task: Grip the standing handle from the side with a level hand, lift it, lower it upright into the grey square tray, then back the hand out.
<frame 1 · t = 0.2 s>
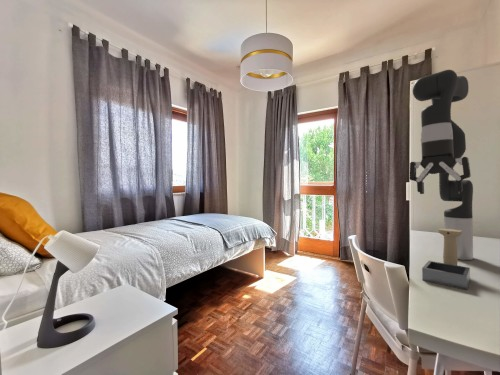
hand: (438, 193, 71), 29 cm above the table, tool pointing down, fingers open, 8 cm apart
grey square tray: (446, 279, 77), on the table
handle: (450, 272, 84), on the table
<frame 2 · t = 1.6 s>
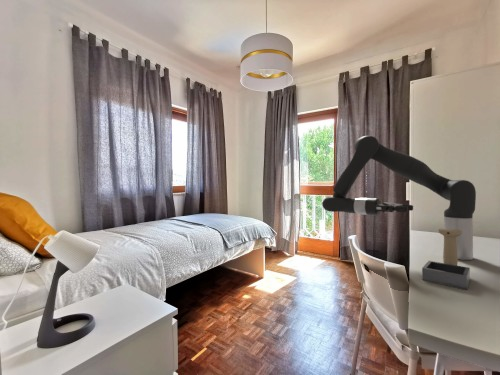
hand: (410, 208, 93), 22 cm above the table, tool horizontal, fingers open, 8 cm apart
nothing on the table moved.
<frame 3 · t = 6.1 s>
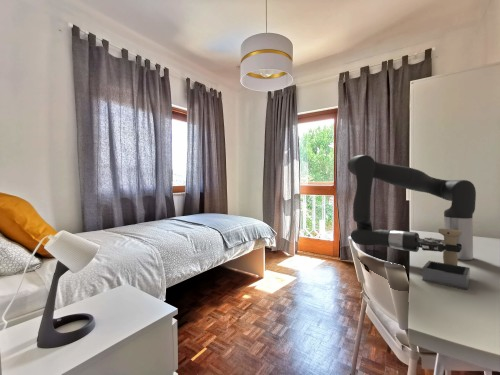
hand: (460, 248, 82), 9 cm above the table, tool horizontal, fingers closed on handle, 3 cm apart
handle: (450, 272, 84), on the table, touching gripper
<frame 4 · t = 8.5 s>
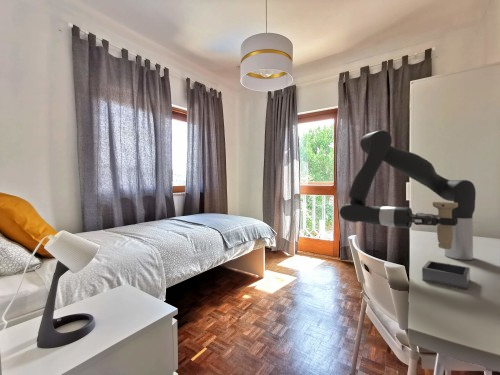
hand: (456, 221, 75), 19 cm above the table, tool horizontal, fingers closed on handle, 3 cm apart
handle: (444, 248, 77), point 10 cm above the table, touching gripper
when the fingers open (11 cm above the table, at t = 10.7 s): handle drops 1 cm, resting on grey square tray.
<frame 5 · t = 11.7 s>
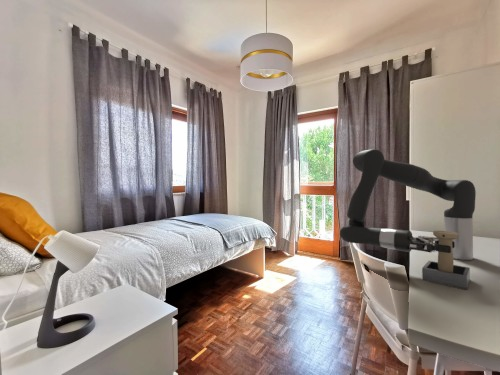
hand: (452, 247, 76), 11 cm above the table, tool horizontal, fingers open, 8 cm apart
handle: (445, 278, 77), resting on grey square tray
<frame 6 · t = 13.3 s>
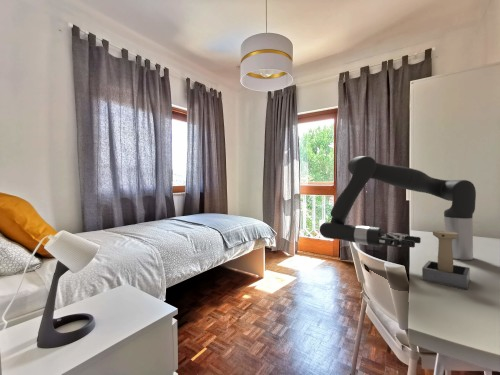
hand: (417, 242, 83), 11 cm above the table, tool horizontal, fingers open, 8 cm apart
nothing on the table moved.
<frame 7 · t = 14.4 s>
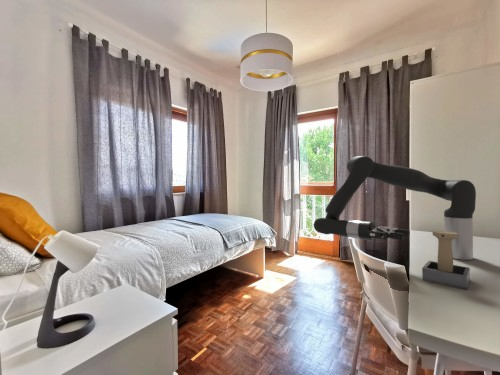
hand: (406, 234, 86), 13 cm above the table, tool horizontal, fingers open, 8 cm apart
nothing on the table moved.
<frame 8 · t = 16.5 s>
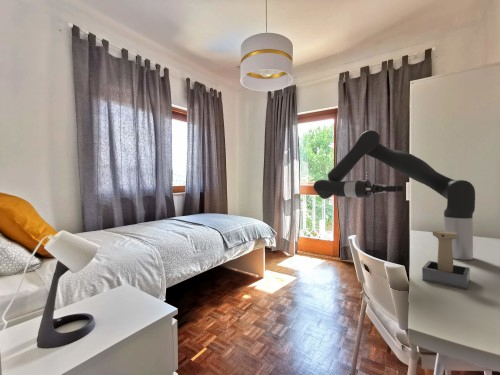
hand: (400, 188, 91), 30 cm above the table, tool horizontal, fingers open, 8 cm apart
nothing on the table moved.
at the end: handle 0.2 cm off-centre on the grey square tray, point 0.4 cm above the grey square tray's base; handle tilted 0°; the gripper is holding nothing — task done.
